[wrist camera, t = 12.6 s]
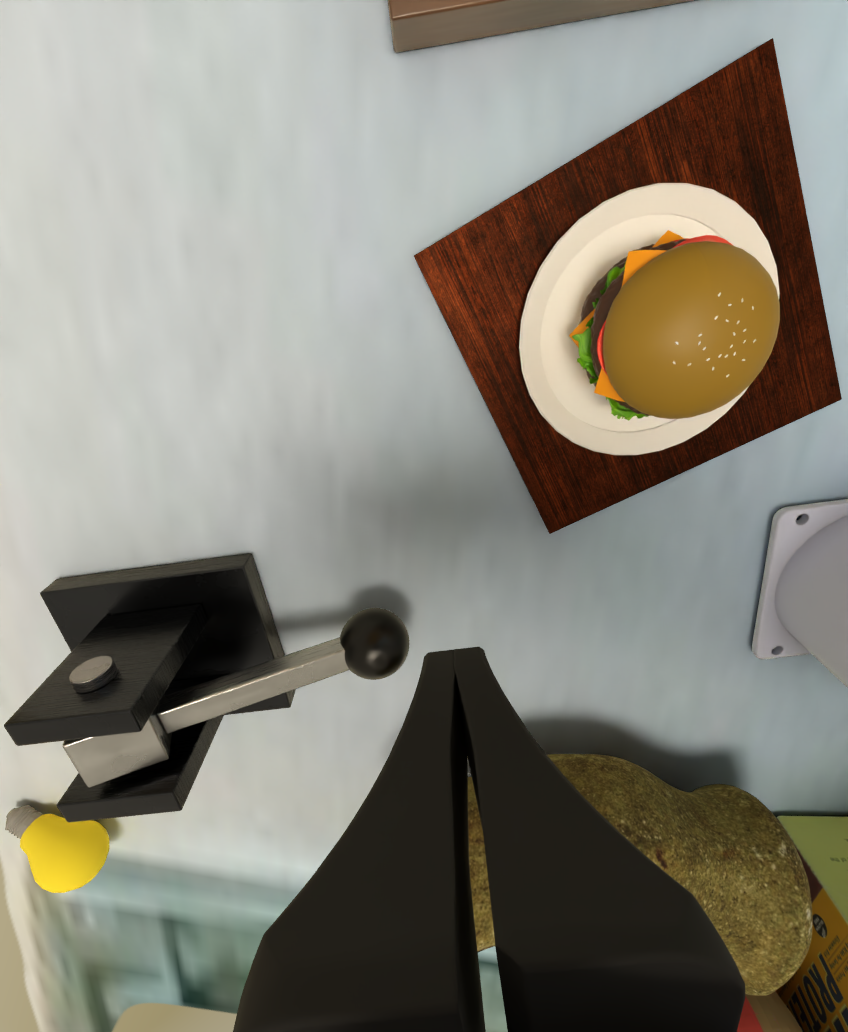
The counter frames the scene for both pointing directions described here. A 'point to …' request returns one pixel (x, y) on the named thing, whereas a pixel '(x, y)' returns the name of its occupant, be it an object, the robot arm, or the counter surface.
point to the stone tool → (692, 860)
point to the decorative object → (766, 1015)
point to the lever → (245, 693)
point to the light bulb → (59, 848)
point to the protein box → (822, 925)
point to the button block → (492, 17)
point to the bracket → (147, 669)
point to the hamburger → (645, 298)
